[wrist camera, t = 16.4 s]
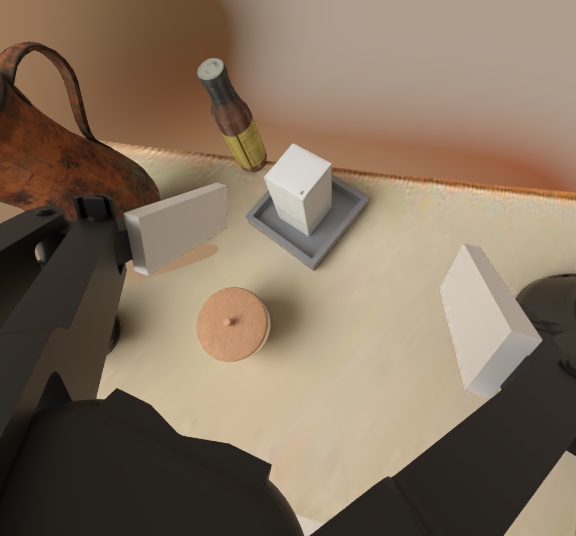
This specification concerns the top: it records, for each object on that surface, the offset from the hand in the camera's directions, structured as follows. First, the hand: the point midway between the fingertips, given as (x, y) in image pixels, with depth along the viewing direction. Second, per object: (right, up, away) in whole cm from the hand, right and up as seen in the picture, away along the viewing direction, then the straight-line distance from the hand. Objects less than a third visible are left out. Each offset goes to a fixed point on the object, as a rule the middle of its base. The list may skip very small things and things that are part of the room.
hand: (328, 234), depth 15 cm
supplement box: (+1, +8, +35) cm, 36 cm away
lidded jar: (-9, -12, +31) cm, 35 cm away
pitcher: (-30, +8, +41) cm, 51 cm away
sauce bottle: (-10, +21, +41) cm, 47 cm away
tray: (+1, +8, +36) cm, 37 cm away
